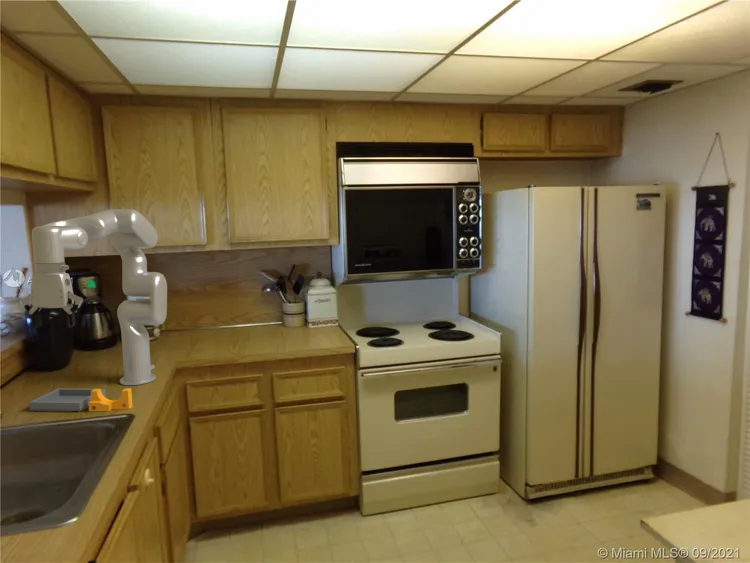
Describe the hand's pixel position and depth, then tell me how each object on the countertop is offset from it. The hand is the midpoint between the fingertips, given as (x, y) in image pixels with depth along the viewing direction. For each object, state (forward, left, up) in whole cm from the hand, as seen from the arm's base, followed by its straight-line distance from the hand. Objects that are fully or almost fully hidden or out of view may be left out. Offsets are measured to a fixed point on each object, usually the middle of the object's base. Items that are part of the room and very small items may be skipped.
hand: (54, 326), depth 147 cm
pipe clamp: (-15, +7, -31) cm, 35 cm away
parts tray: (-18, -10, -31) cm, 37 cm away
